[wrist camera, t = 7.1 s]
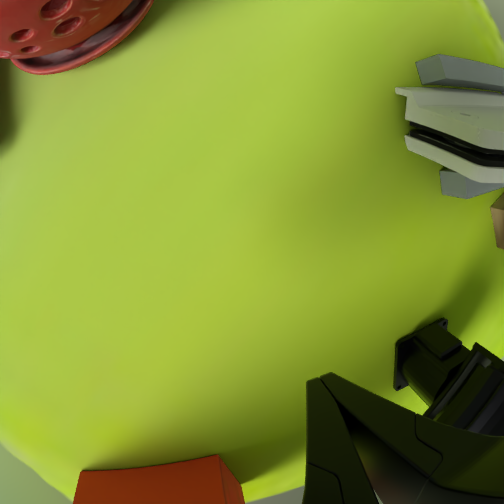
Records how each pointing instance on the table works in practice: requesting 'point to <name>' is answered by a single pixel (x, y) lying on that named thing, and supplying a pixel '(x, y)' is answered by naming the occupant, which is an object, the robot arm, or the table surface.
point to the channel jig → (470, 76)
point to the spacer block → (498, 220)
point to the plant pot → (64, 31)
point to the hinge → (458, 129)
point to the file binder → (162, 484)
